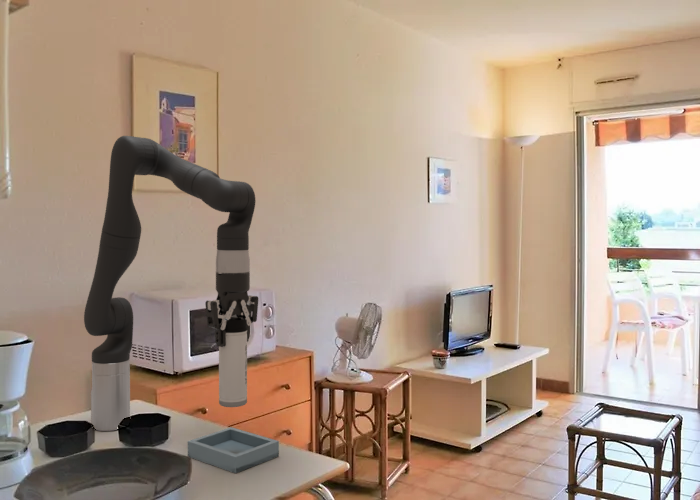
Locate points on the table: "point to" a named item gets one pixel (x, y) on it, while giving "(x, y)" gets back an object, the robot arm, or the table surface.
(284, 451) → the table surface
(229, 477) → the table surface
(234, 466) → the slate tray
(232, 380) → the travel mug
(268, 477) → the table surface
